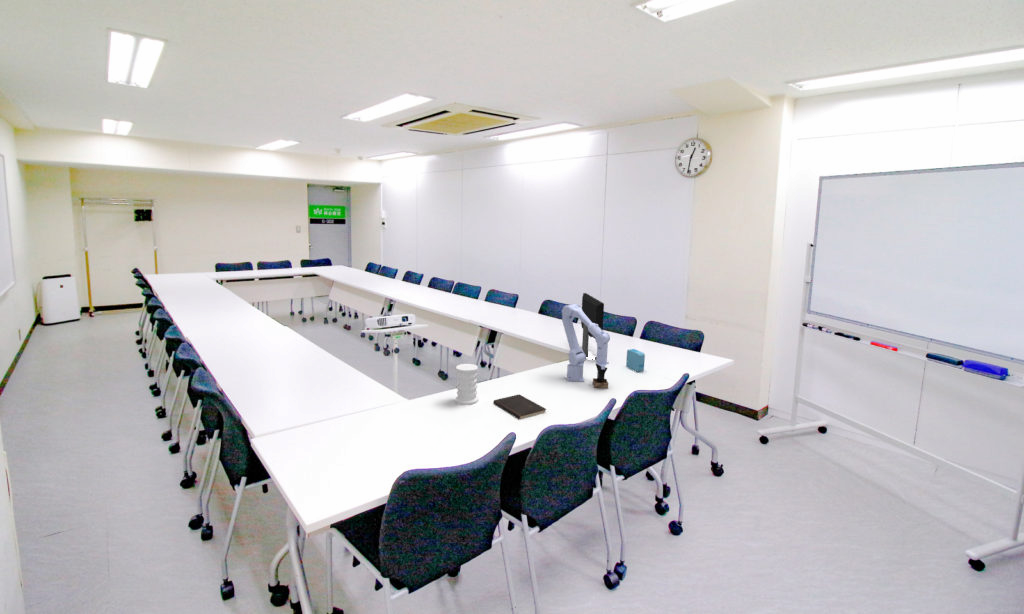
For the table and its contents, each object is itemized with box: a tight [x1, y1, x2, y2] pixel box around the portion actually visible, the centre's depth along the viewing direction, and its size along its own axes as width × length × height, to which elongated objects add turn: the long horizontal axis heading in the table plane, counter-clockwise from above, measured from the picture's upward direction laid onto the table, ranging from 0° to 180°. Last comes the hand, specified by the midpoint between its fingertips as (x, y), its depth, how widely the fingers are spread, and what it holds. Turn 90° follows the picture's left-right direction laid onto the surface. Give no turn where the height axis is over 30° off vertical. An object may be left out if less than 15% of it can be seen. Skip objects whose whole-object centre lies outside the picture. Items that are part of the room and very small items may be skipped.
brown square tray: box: [592, 377, 609, 389], centre depth 276 cm, size 8×8×3 cm
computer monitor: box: [580, 292, 605, 360], centre depth 331 cm, size 41×8×40 cm, turn 8°
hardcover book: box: [492, 394, 547, 420], centre depth 243 cm, size 16×23×2 cm
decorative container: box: [455, 363, 479, 406], centre depth 249 cm, size 12×12×18 cm
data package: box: [625, 348, 646, 373], centre depth 305 cm, size 12×4×12 cm, turn 24°
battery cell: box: [596, 371, 605, 382], centre depth 275 cm, size 4×4×7 cm
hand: (600, 377), depth 275 cm, fingers closed on battery cell, 4 cm apart
